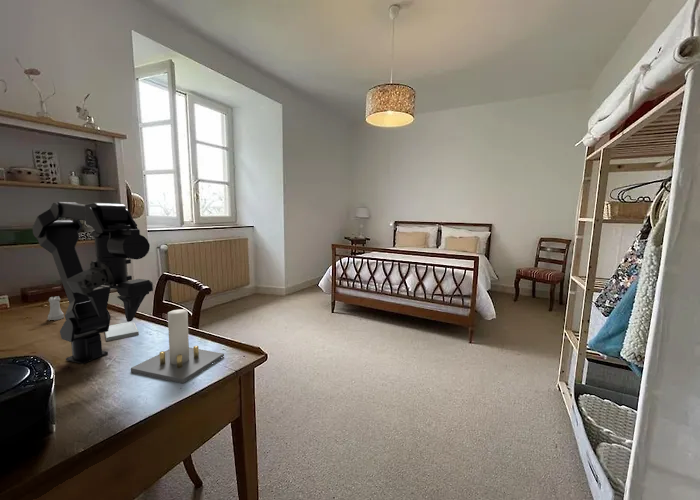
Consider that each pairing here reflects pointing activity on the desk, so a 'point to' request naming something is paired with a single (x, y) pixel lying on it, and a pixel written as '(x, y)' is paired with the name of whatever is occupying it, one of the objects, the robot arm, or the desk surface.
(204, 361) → the charcoal plate
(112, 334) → the hard drive
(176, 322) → the cream post
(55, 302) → the rook chess piece
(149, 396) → the desk surface
